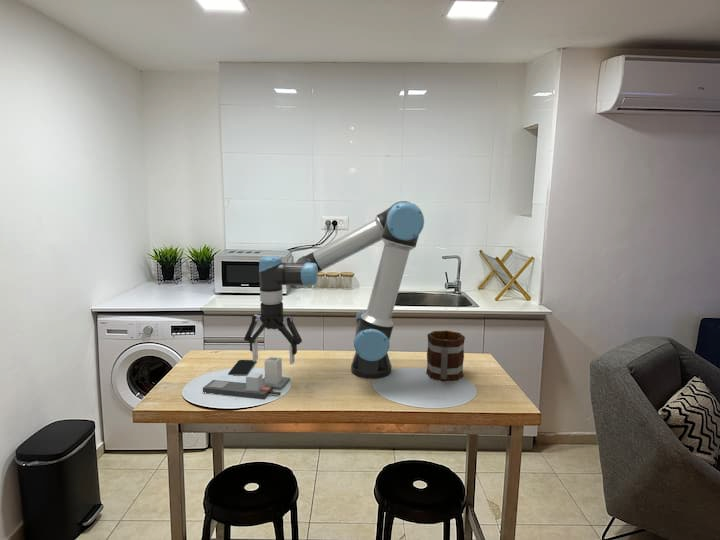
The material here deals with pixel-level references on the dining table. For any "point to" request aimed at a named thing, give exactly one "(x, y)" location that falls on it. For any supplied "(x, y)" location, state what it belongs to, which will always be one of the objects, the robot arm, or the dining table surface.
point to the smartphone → (242, 368)
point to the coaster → (279, 385)
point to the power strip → (238, 389)
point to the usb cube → (254, 381)
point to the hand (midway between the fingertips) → (273, 361)
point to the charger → (273, 370)
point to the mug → (445, 356)
